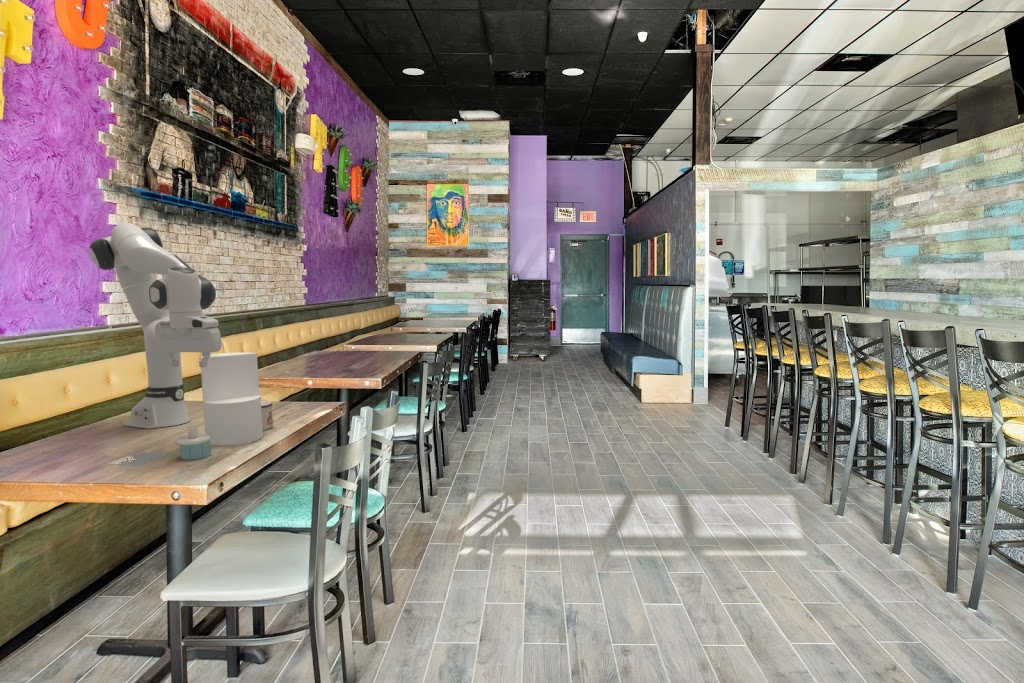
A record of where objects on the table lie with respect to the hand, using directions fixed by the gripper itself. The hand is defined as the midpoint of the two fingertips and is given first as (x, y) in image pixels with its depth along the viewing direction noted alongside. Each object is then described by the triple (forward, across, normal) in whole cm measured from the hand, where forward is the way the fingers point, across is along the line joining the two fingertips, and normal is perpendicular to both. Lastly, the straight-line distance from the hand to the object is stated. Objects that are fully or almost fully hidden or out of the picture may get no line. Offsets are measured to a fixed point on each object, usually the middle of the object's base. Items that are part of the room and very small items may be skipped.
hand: (189, 366), depth 186 cm
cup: (+26, +4, -5) cm, 27 cm away
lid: (+22, +4, -6) cm, 23 cm away
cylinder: (+27, +4, +15) cm, 31 cm away
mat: (+27, -12, -9) cm, 31 cm away
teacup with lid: (+27, +3, +32) cm, 42 cm away
